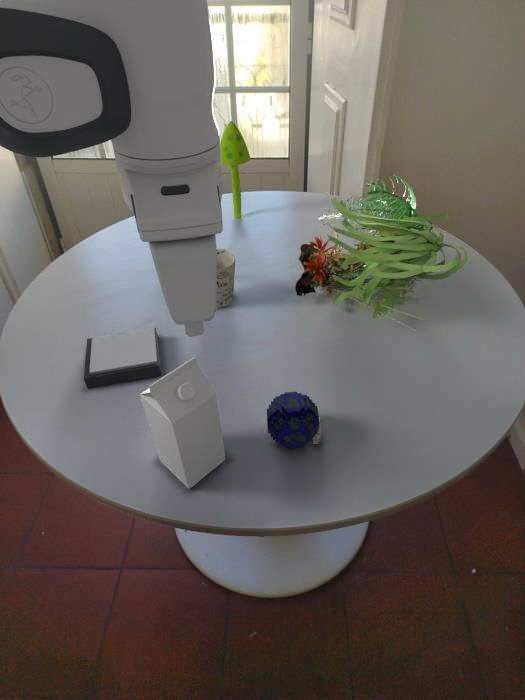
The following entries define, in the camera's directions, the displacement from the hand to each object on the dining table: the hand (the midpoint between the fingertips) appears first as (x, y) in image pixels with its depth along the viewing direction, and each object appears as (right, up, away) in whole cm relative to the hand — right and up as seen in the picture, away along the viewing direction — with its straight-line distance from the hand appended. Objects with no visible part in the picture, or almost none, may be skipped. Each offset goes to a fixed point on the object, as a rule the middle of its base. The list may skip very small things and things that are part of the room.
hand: (189, 304), depth 50 cm
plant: (+30, +8, +52) cm, 60 cm away
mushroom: (+1, +32, +80) cm, 86 cm away
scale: (-18, -7, +37) cm, 42 cm away
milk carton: (-3, -22, +21) cm, 30 cm away
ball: (+13, -18, +24) cm, 33 cm away
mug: (-2, +7, +53) cm, 53 cm away
